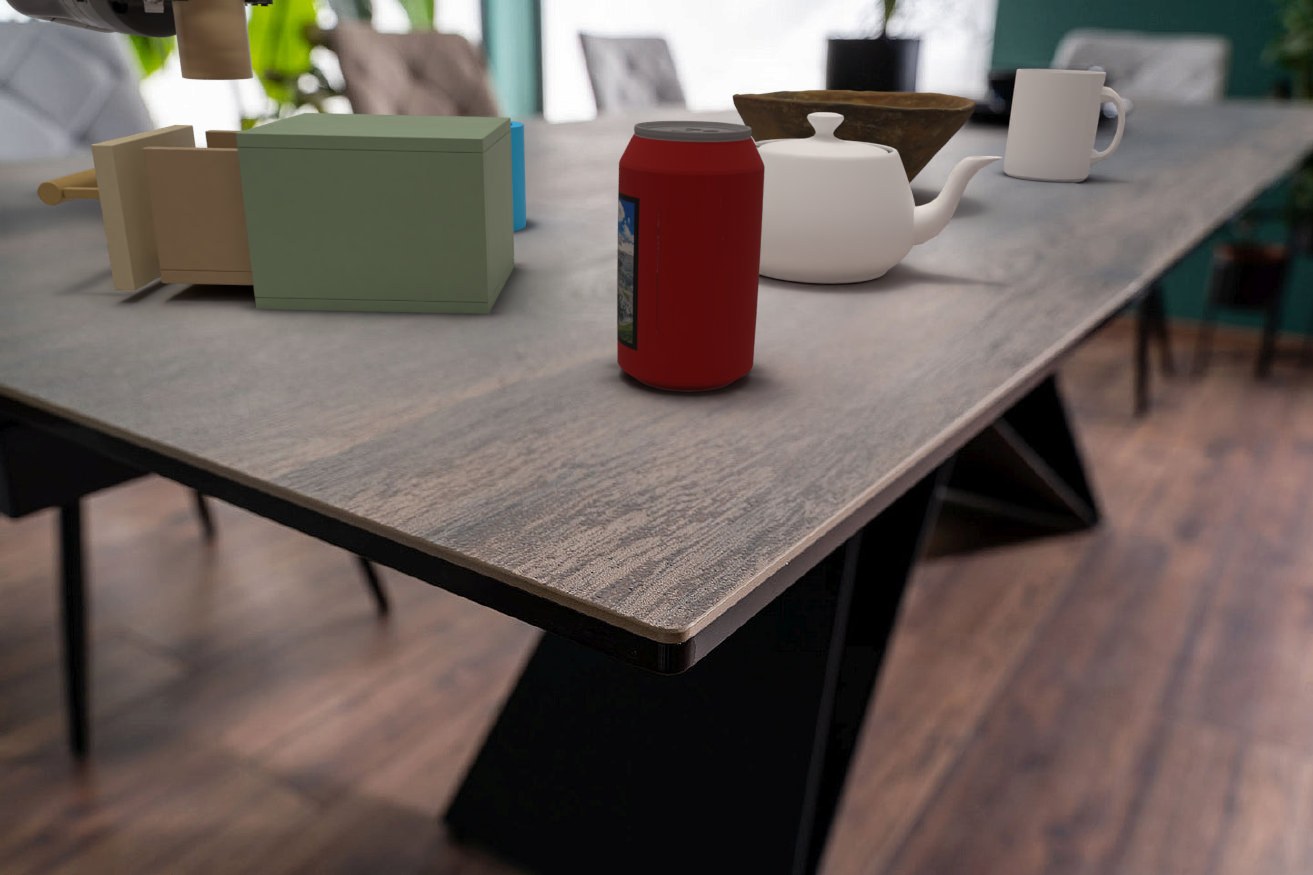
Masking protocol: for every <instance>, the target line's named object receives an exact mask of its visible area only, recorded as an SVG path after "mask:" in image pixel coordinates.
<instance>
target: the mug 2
mask: <svg viewBox="0 0 1313 875" xmlns="http://www.w3.org/2000/svg"><path fill="white" fill-rule="evenodd" d="M1106 76H1107V72H1106V71H1095V70H1078V69H1060V68H1059V69H1056V68H1018V69H1016V73H1015V80H1014V88H1013V93H1012V94H1013V95H1012V102H1011V110H1010V116H1009V123H1008V124H1009V125H1008V131H1007V139H1006V146H1005V153H1004V159H1003V171H1004V173H1005V175H1006V176H1008V177H1010V178H1014V179H1020V180H1026V181H1033V182H1046V183H1081V182H1083V181H1085V180H1086V179H1087V178H1088V177H1089V174H1090V171H1091V166H1093V165H1096V164H1097V163H1100V162H1102V161H1105V160H1107V159H1109V158H1110V157H1111V156H1112V155H1113V154H1114V153H1115V152H1116V151H1117V149H1118V148H1119V146H1120V143H1121V140H1122V138H1123V135H1124V132H1125V125H1126V109H1125V105H1124V101H1123V100H1122V98H1121V96H1120V95H1119V93H1117V92H1116V90H1114V89H1112V87H1109V86H1105V82H1106ZM1102 103H1112V104H1113V105H1114V106H1115V109H1116V113H1117V125H1116V126H1117V127H1116V132H1115V135H1114V137H1113V140H1112V142H1111V143H1110V145H1109V146H1108V147H1107V148H1106V149H1105V150H1103V151H1098V150H1097V149H1096V148H1094V147H1095V143H1096V137H1097V132H1098V125H1099V119H1100V112H1101V104H1102Z"/></svg>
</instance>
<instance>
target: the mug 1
mask: <svg viewBox="0 0 1313 875" xmlns="http://www.w3.org/2000/svg"><path fill="white" fill-rule="evenodd" d="M510 131H511V155H512V193H513V232H517V231H521V230H523V229H525V228H526V226H527V206H526V205H527V199H526V197H527V196H526V195H527V194H526V156H525V155H526V154H525V152H526V151H525V148H526V147H525V124H524V123H523V122H520V121H513V120H511V130H510Z"/></svg>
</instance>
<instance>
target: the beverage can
mask: <svg viewBox="0 0 1313 875" xmlns="http://www.w3.org/2000/svg"><path fill="white" fill-rule="evenodd" d="M633 131H634V133H633V135H632V136H631V138H630V139H629V142H628V144H627V145H626V147H625V149H624V151H623V153H622V155H621V156H620V159H619V161H618V184H617V185H618V188H617V189H618V192H617V255H616V257H617V262H616V268H617V270H616V278H617V279H616V298H617V299H616V340H617V342H616V346H617V347H616V350H617V351H616V356H617V357H616V358H617V361H616V362H617V364H618V366H619V367H620V368H621V370H623V371H624V372H625V373H626V374H628V375H630V376H631V377H633V378H634V379H636V380H637V381H638V382H640V383H642V384H643V385H645V386H648V387H651V388H654V389H655V388H656V389H660V390H663V391H664V390H665V391H671V392H686V393H687V392H705V391H706V392H707V391H714V390H717V389H721V388H724V387H727V386H729V385H731V384H732V383H734V382H735V381H738V380H739V379H740V378H743V377H744V376H746V375H747V374H748V373H750V371H751V370H752V369H753V367H754V360H755V358H754V356H755V346H756V345H755V344H756V328H757V318H758V317H757V314H758V300H759V299H758V298H759V284H760V274H759V269H760V251H761V233H762V214H763V193H764V171H765V167H764V163H763V161H762V159H761V156H760V154H759V152H758V150H757V147H756V145H755V141H754V139H753V138H752V136H751V133H752V130H751V127H749V126H745V124H739V123H731V122H721V121H705V120H654V121H645V122H639V123H636V124H634V126H633Z"/></svg>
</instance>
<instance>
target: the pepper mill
mask: <svg viewBox="0 0 1313 875" xmlns="http://www.w3.org/2000/svg"><path fill="white" fill-rule="evenodd" d="M172 6H173V13H174V21H175V28H176V35H175V37H176V43H177V49H178V57H179V65H180V72H181V78H183V79H185V80H197V81H235V80H236V81H239V80H250V79H253V78H254V73H253V72H254V71H253V64H252V63H253V62H252V57H251V56H252V55H251V54H252V53H251V46H250V36H249V29H248V28H249V27H248V18H247V9H246V6H245V0H188V1H172Z"/></svg>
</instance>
